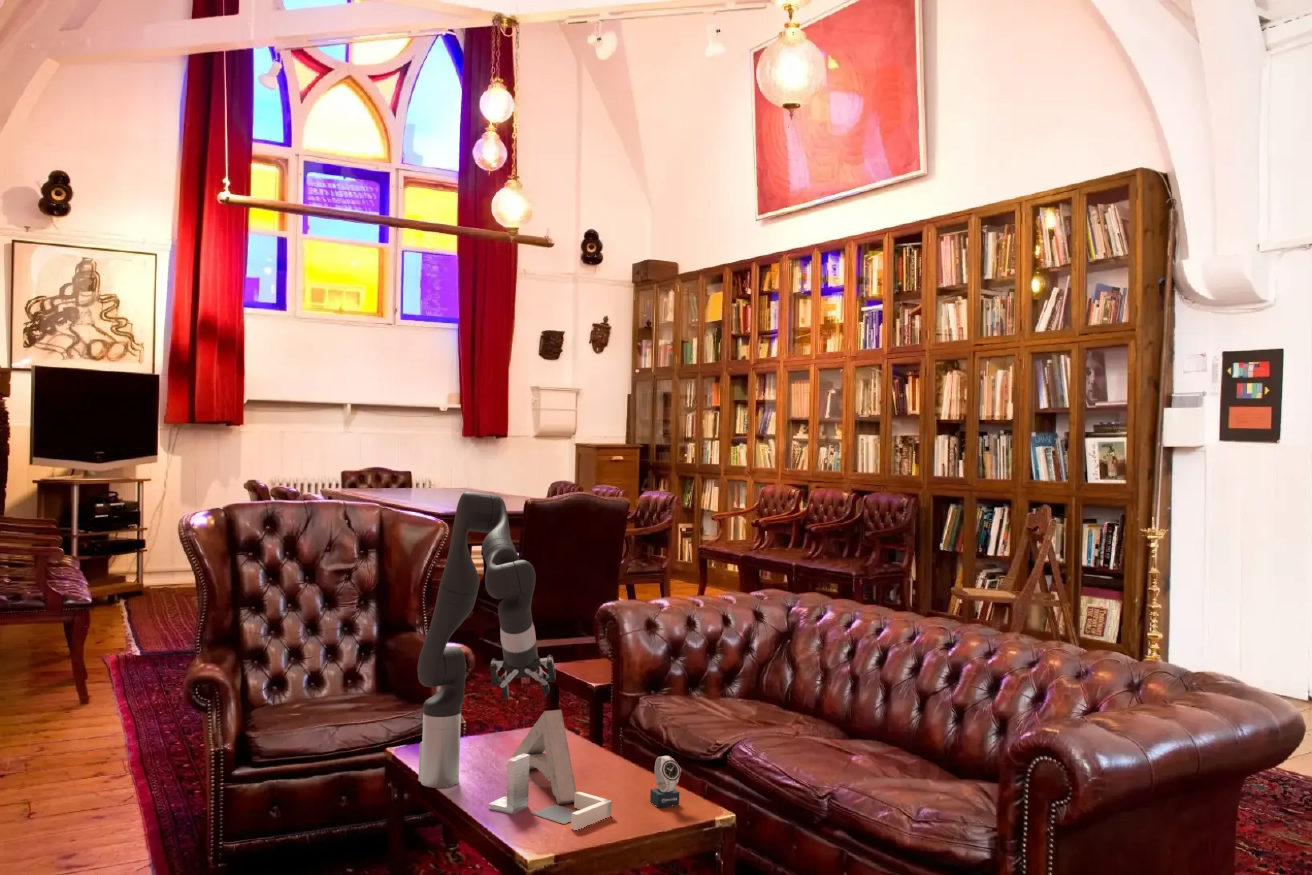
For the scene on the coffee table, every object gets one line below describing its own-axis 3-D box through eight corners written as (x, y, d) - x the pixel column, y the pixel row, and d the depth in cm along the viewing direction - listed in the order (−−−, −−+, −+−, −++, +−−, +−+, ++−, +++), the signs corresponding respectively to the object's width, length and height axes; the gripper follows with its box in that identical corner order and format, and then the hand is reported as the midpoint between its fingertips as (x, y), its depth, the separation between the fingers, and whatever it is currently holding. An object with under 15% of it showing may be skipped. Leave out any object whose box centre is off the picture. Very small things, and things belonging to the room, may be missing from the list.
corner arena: (542, 819, 225) (543, 804, 225) (578, 806, 234) (578, 791, 234) (576, 830, 219) (576, 814, 219) (611, 816, 228) (611, 800, 228)
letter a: (541, 837, 258) (577, 799, 236) (525, 840, 256) (560, 801, 234) (528, 753, 270) (561, 709, 248) (512, 754, 268) (544, 710, 246)
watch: (661, 810, 233) (663, 763, 233) (647, 800, 240) (648, 753, 241) (683, 807, 235) (684, 760, 236) (667, 797, 243) (669, 751, 243)
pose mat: (531, 814, 228) (531, 813, 228) (555, 805, 235) (555, 804, 235) (564, 824, 222) (564, 823, 222) (587, 815, 229) (587, 814, 229)
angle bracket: (488, 808, 231) (490, 756, 231) (504, 801, 236) (505, 750, 237) (512, 814, 228) (514, 761, 228) (528, 806, 233) (529, 754, 234)
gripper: (551, 626, 223) (558, 681, 231) (487, 630, 223) (496, 685, 231) (550, 649, 217) (556, 705, 224) (484, 653, 216) (493, 709, 224)
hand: (526, 695), depth 228 cm, fingers open, 8 cm apart
